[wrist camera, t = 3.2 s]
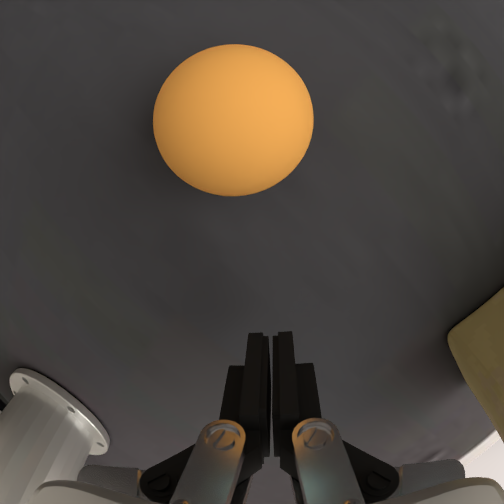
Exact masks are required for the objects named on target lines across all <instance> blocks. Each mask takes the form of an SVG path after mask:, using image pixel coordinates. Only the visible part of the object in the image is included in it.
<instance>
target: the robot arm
mask: <svg viewBox="0 0 504 504" xmlns="http://www.w3.org/2000/svg"><path fill="white" fill-rule="evenodd" d="M10 387H11V390H12V392H13V395H14V397H13V398H12V399H11V400H10V402H9V403H8V405H7V406H6V407H5V409H4V410H3V411H2V413H1V414H0V504H246V501H247V497H248V494H249V490H250V486H251V483H252V479H253V474H254V473H256V472H257V471H258V470H260V469H261V468H262V464H264V457H269V456H270V421H271V374H270V355H269V338H268V336H263V333H249V334H248V342H247V351H246V359H245V366H229V369H228V374H227V380H226V385H225V390H224V396H223V401H222V407H221V412H220V418H219V420H217V421H213V422H211V423H209V424H208V425H206V426H205V427H204V428H203V429H202V431H201V432H200V435H199V437H198V439H197V442H196V444H194V445H192V446H190V447H189V448H187V449H185V450H183V451H182V452H180V453H178V454H176V455H174V456H172V457H170V458H168V459H167V460H165V461H163V462H161V463H159V464H157V465H155V466H153V467H151V468H149V469H147V470H139V469H138V468H125V467H111V466H101V465H87V466H84V463H85V461H86V459H87V457H88V455H89V454H92V455H102V454H104V453H106V451H107V450H108V447H109V445H110V438H109V436H108V434H107V431H106V430H105V428H104V427H103V426H102V424H101V423H100V422H99V421H98V419H97V418H96V417H95V416H94V415H93V414H92V413H91V412H90V411H89V410H88V409H87V408H86V407H85V406H84V405H83V404H81V403H80V402H79V401H78V400H77V399H76V398H75V397H73V396H72V395H71V394H70V393H68V392H67V391H66V390H64V389H63V388H62V387H60V386H59V385H57V384H56V383H55V382H53V381H51V380H50V379H48V378H47V377H45V376H43V375H41V374H39V373H37V372H35V371H32V370H29V369H25V368H19V369H16V370H15V371H14V372H13V373H12V374H11V376H10ZM272 419H273V441H274V457H280V468H281V469H283V470H284V471H285V472H287V473H288V474H289V475H290V480H291V485H292V490H293V495H294V499H295V504H504V490H503V489H502V487H501V486H500V485H499V484H498V483H497V482H496V481H495V480H493V479H490V478H482V477H472V478H465V470H464V467H463V465H462V464H461V463H460V462H459V461H457V460H455V459H447V460H441V461H434V462H426V463H417V464H405V465H402V466H401V467H392V466H391V465H389V464H387V463H385V462H383V461H381V460H379V459H377V458H375V457H373V456H371V455H369V454H367V453H365V452H363V451H362V450H360V449H358V448H356V447H354V446H352V445H351V444H349V443H347V442H345V441H343V440H342V439H341V436H340V434H339V431H338V429H337V427H336V426H335V425H334V424H333V423H332V422H331V421H329V420H326V419H323V418H321V410H320V404H319V397H318V390H317V384H316V377H315V371H314V365H313V363H303V364H295V357H294V346H293V336H292V331H289V332H278V336H273V393H272ZM83 466H84V467H83Z"/></svg>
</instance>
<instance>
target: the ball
mask: <svg viewBox="0 0 504 504" xmlns="http://www.w3.org/2000/svg"><path fill="white" fill-rule="evenodd" d="M153 129H154V136H155V140H156V143H157V146H158V149H159V151H160V153H161V155H162V157H163V159H164V161H165V162H166V163H167V165H168V166H169V167H170V169H171V170H172V171H173V172H174V173H175V174H176V175H177V176H178V177H180V178H181V179H182V180H183V181H185V182H186V183H188V184H190V185H191V186H193V187H195V188H197V189H200V190H202V191H204V192H208V193H211V194H215V195H221V196H243V195H249V194H253V193H257V192H260V191H263V190H265V189H267V188H269V187H271V186H273V185H275V184H277V183H278V182H280V181H281V180H283V179H284V178H285V177H286V176H287V175H289V174H290V173H291V172H292V171H293V170H294V168H295V167H296V166H297V165H298V164H299V162H300V161H301V159H302V158H303V156H304V154H305V152H306V150H307V148H308V146H309V143H310V140H311V137H312V131H313V108H312V103H311V99H310V95H309V93H308V90H307V88H306V86H305V84H304V83H303V81H302V79H301V78H300V76H299V75H298V74H297V73H296V71H295V70H294V69H293V68H292V67H291V66H290V65H289V64H287V63H286V62H285V61H283V60H282V59H281V58H279V57H278V56H276V55H274V54H272V53H270V52H268V51H266V50H263V49H261V48H257V47H253V46H249V45H240V44H228V45H221V46H216V47H212V48H208V49H206V50H203V51H201V52H198V53H196V54H195V55H193V56H191V57H189V58H188V59H186V60H185V61H184V62H182V63H181V64H180V65H179V66H178V67H177V68H176V69H175V70H174V71H173V72H172V73H171V74H170V75H169V77H168V78H167V79H166V81H165V82H164V84H163V86H162V87H161V90H160V92H159V94H158V96H157V100H156V103H155V107H154V113H153Z"/></svg>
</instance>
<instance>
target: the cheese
mask: <svg viewBox="0 0 504 504" xmlns="http://www.w3.org/2000/svg"><path fill="white" fill-rule="evenodd" d="M448 344H449V347H450V350H451V352H452V354H453V356H454V358H455V360H456V362H457V364H458V367H459V369H460V371H461V373H462V375H463V377H464V379H465V381H466V383H467V385H468V386H469V388H470V389H471V391H472V392H473V394H474V395H475V397H476V398H477V400H478V401H479V403H480V404H481V406H482V407H483V409H484V410H485V412H486V414H487V415H488V417H489V418H490V420H491V422H492V423H493V425H494V427H495V428H496V430H497V432H498V434H499V435H500V437H501V439H502V441H503V442H504V287H503V288H502V289H501V290H500V291H499V292H497V293H496V294H495V295H494V296H493V297H492V298H491V299H489V300H488V301H487V302H486V303H485V304H483V305H482V306H481V307H480V308H478V309H477V310H476V311H475V312H473V313H472V314H471V315H469V316H468V317H467V318H465V319H464V320H463V321H461V322H460V323H459V324H457V325H456V326H455V327H454V328H452V329H451V331H450V332H449V334H448Z"/></svg>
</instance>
